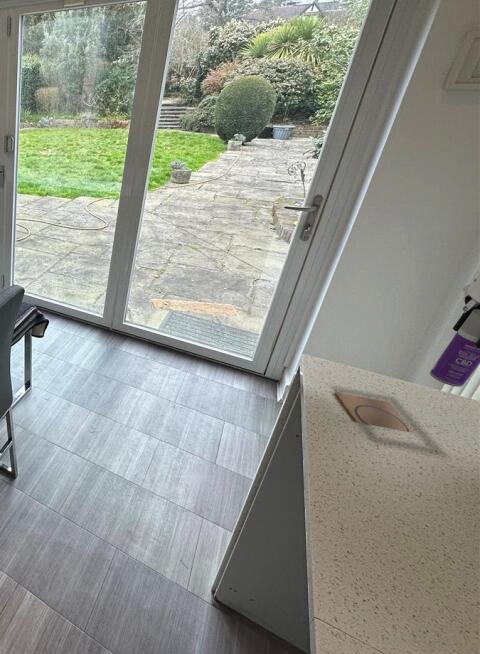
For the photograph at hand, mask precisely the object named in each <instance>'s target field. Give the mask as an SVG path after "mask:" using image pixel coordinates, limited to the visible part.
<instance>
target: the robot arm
mask: <svg viewBox="0 0 480 654" xmlns="http://www.w3.org/2000/svg"><path fill="white" fill-rule="evenodd" d="M462 292H463V295H464V306H463V307H462V312H463V313H462V314H461V316H459V319H458V320H457V321H456V323H455V324H454V325H453V327H452V330H453V331H455V332H456V333H457V332H458V330H459V329H460V328H461V326H462V325H463V324H464V322H465V321H466V319H467V318H468V317H469V315H470V314H471V313H472V311H473V310H475V309H480V271H479V272H478V273H477V274H476V275H475V277H474V278H473V280H472V281H471V283H470V284H467V285H465V286H463V287H462ZM475 346H476V347H478V348H480V339H479V340H478V341H477V343H476V344H475Z"/></svg>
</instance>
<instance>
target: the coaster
mask: <svg viewBox="0 0 480 654" xmlns="http://www.w3.org/2000/svg"><path fill="white" fill-rule="evenodd" d="M334 394H335V396H336V398H338V400H339V401H340V403H341V404H342V406H343V407H344V409H346V411H347V413H348V414H349V415H350V417H351V418H352V419H353V420H354V422H355V423H359V424H364V425H367V426H368V425H369V426H375V427H380V428H385V429H390V430H395V431H400V432H405V433H410V434H411V433H412V434H415V435H417V432H416V431H415V430H414V429H413V428H412V426H411V425H410V424H409V423H408V422H407V421H406V420H405V418H404V417H403V416H402V415H401V413H400V412H399V411H398V410H397V409H396V408H395V406H393V404H392V403H391V402H390V401H386V400H379V399H377V398H376V399H375V398H370V397H364V396H359V395H354V394H348V393H343V392H338V391H337V392H336V391H335V392H334Z"/></svg>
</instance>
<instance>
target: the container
mask: <svg viewBox="0 0 480 654" xmlns="http://www.w3.org/2000/svg"><path fill="white" fill-rule="evenodd" d="M479 339H480V309H475V310H473V311H472V313H471V314H470V315H469V317H468V318H467V319H466V321H465V322H464V324H463V325H462V326H461V328H460V329H459V330H458V332H457V331H456V333H455V334H454V336H453V337H452V339H451V340H450V342H449V343H448V345H447V346H446V348H445V349H444V351H443V352H442V353H441V355H440V357H439V358H438V359H437V360H436V362H435V364H434V365H433V367H432V368H431V370H430V371H429V375H430V376H431V377H432V378H433V379H434V380H436V381H438V382H440V383H442V384H445V385H447V386H450V387H457V388H461V387H463V386H464V385H465V384H466V382H467V381H468V380H469V378H470V377H471V376H472V374H473V373H474V371H476V369H477V367H478V366H479V365H480V348H478V347H476V346H475V344H476V343H477V341H478V340H479Z"/></svg>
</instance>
